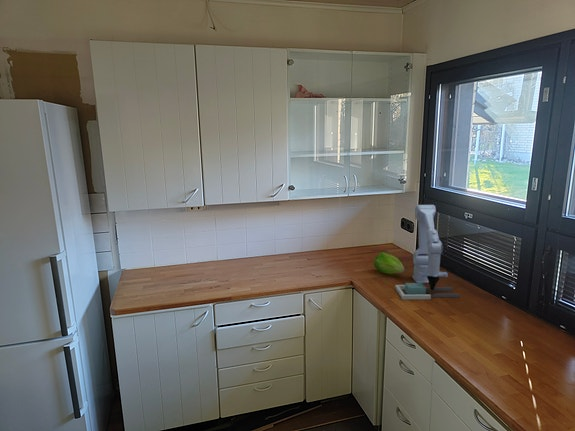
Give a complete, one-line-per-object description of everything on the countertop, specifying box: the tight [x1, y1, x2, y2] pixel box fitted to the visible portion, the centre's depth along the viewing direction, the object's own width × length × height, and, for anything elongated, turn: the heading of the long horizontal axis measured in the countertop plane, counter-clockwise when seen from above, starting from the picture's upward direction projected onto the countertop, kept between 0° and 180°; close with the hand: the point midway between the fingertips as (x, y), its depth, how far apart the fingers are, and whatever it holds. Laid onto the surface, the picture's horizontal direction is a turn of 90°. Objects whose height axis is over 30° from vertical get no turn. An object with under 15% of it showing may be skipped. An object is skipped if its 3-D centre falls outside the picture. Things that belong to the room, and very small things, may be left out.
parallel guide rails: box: [425, 286, 460, 298], centre depth 201 cm, size 9×15×2 cm, turn 89°
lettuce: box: [373, 252, 406, 275], centre depth 228 cm, size 14×20×12 cm
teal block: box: [404, 282, 427, 295], centre depth 201 cm, size 6×9×5 cm, turn 89°
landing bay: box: [394, 284, 432, 300], centre depth 202 cm, size 14×14×2 cm
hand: (431, 289), depth 201 cm, fingers closed
